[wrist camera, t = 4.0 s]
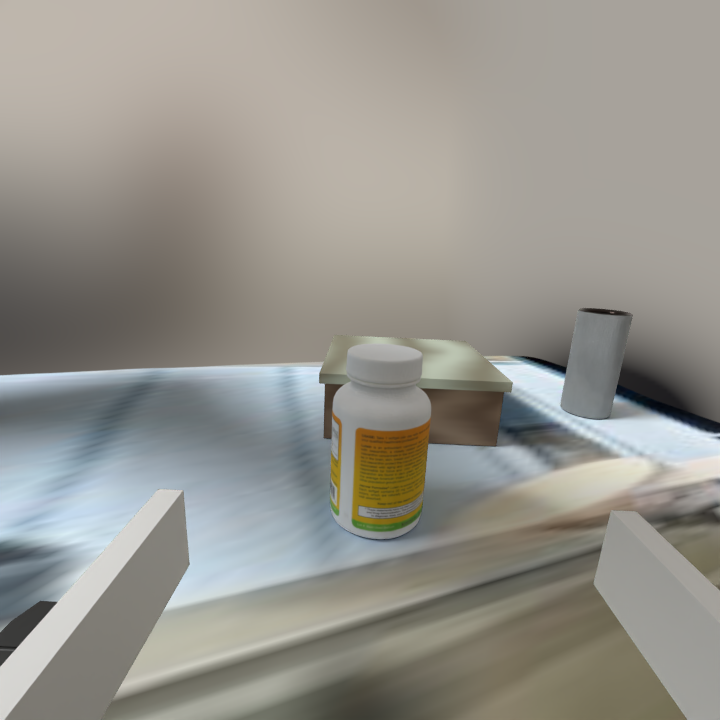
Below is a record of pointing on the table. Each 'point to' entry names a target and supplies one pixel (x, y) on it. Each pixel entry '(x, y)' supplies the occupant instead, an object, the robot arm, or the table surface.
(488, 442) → the podium
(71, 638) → the robot arm
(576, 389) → the grey hollow cylinder
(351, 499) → the supplement bottle
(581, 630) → the table surface
